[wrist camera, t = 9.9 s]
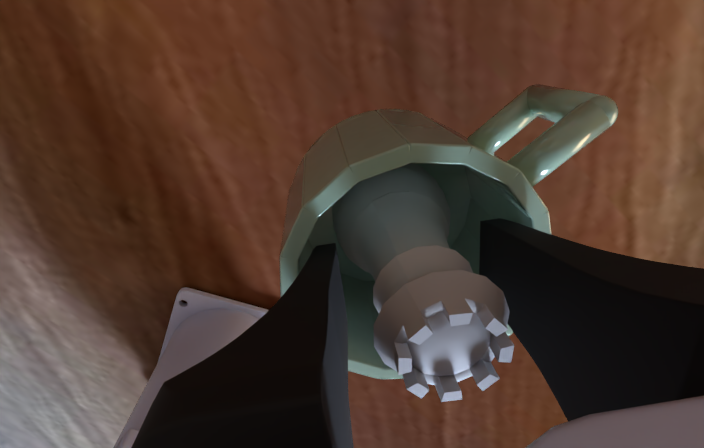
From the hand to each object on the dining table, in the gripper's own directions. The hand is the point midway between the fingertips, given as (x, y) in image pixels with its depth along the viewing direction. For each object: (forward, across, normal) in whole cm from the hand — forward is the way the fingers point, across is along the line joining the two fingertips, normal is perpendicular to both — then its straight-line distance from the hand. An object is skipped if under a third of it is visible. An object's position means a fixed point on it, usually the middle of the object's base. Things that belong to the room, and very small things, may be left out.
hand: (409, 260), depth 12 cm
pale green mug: (+4, -1, -1) cm, 4 cm away
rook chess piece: (+4, 0, 0) cm, 4 cm away
